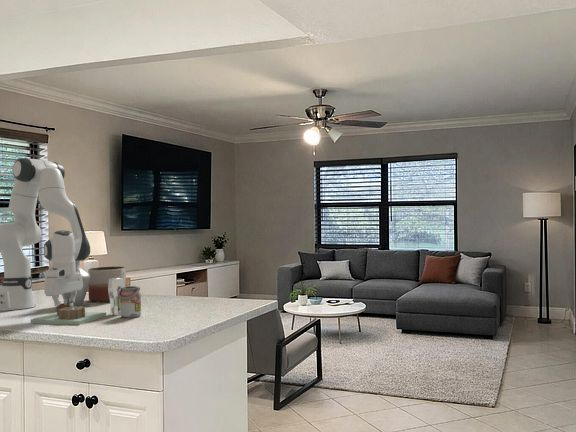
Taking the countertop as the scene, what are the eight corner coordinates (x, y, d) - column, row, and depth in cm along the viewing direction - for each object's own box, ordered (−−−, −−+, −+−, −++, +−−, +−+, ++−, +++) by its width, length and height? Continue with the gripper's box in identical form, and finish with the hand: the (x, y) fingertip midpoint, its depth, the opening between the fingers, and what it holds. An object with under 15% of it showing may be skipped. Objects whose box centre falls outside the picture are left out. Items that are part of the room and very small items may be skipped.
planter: (111, 296, 291) (110, 265, 291) (134, 298, 281) (133, 267, 281) (81, 301, 277) (80, 269, 277) (103, 304, 266) (102, 270, 266)
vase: (76, 309, 254) (74, 253, 254) (50, 307, 259) (49, 253, 259) (97, 303, 267) (96, 250, 267) (72, 302, 272) (71, 250, 272)
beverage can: (134, 319, 226) (134, 289, 225) (115, 319, 227) (114, 289, 227) (144, 314, 235) (144, 286, 235) (125, 314, 236) (125, 286, 236)
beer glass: (110, 316, 233) (109, 279, 233) (107, 313, 239) (106, 278, 239) (127, 314, 237) (126, 278, 236) (124, 312, 243) (123, 277, 243)
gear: (54, 315, 230) (53, 305, 230) (63, 312, 236) (63, 302, 236) (66, 315, 229) (66, 305, 229) (76, 312, 235) (75, 302, 235)
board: (30, 323, 222) (30, 305, 222) (60, 314, 239) (60, 298, 239) (79, 324, 216) (79, 306, 216) (106, 316, 234) (106, 299, 234)
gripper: (73, 267, 243) (74, 299, 243) (40, 273, 223) (41, 308, 224) (86, 267, 242) (87, 300, 242) (54, 273, 222) (55, 308, 222)
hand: (65, 304), depth 232 cm, fingers open, 8 cm apart
